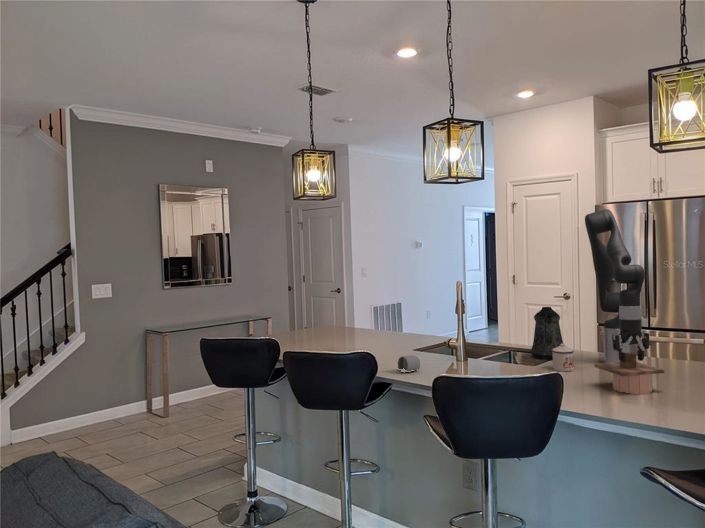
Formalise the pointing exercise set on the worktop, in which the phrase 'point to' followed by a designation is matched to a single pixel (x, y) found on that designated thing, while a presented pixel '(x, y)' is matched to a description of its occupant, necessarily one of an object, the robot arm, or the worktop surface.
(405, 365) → the ceramic mug
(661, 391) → the worktop surface
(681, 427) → the worktop surface
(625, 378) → the bowl
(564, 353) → the teacup with lid
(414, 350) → the worktop surface
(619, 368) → the lid
